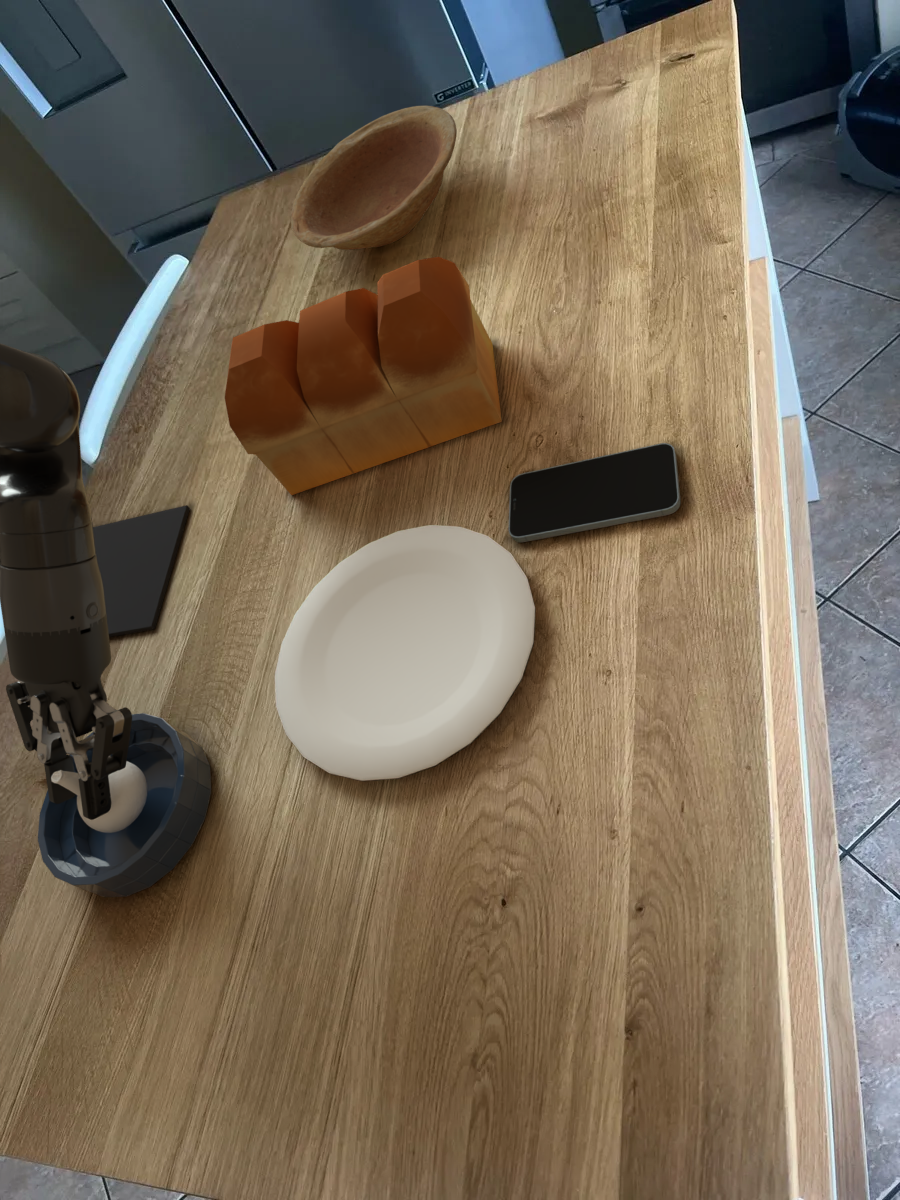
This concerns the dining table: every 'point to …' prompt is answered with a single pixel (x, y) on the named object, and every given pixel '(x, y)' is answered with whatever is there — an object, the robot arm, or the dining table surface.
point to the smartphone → (594, 493)
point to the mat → (137, 567)
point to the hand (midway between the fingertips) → (80, 806)
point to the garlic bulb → (112, 797)
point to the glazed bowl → (154, 834)
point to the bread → (364, 377)
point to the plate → (405, 653)
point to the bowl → (376, 181)
